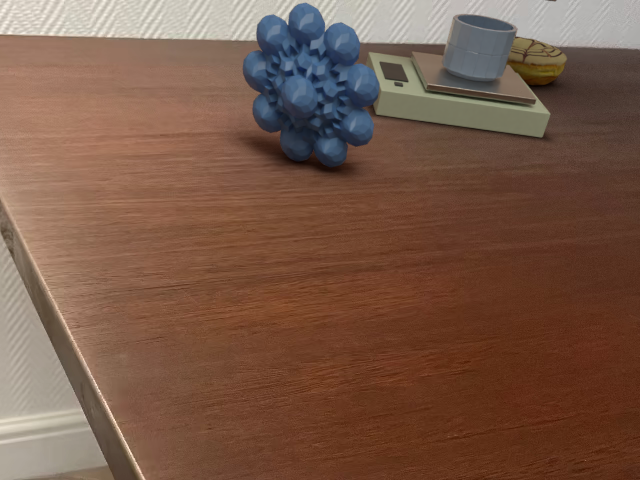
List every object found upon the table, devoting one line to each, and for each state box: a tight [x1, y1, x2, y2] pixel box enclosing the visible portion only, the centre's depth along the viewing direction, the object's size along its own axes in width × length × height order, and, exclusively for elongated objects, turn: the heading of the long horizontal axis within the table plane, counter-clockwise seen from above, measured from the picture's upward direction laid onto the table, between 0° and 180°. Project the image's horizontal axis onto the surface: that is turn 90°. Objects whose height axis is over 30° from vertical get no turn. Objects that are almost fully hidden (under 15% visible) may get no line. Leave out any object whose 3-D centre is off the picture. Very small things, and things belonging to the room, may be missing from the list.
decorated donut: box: [507, 36, 568, 86], centre depth 98 cm, size 10×11×4 cm
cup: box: [441, 13, 519, 82], centre depth 83 cm, size 6×6×5 cm
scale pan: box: [410, 50, 536, 105], centre depth 85 cm, size 11×12×1 cm
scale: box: [365, 51, 551, 138], centre depth 86 cm, size 17×14×3 cm
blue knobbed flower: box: [242, 2, 380, 168], centre depth 64 cm, size 12×7×12 cm, turn 67°
